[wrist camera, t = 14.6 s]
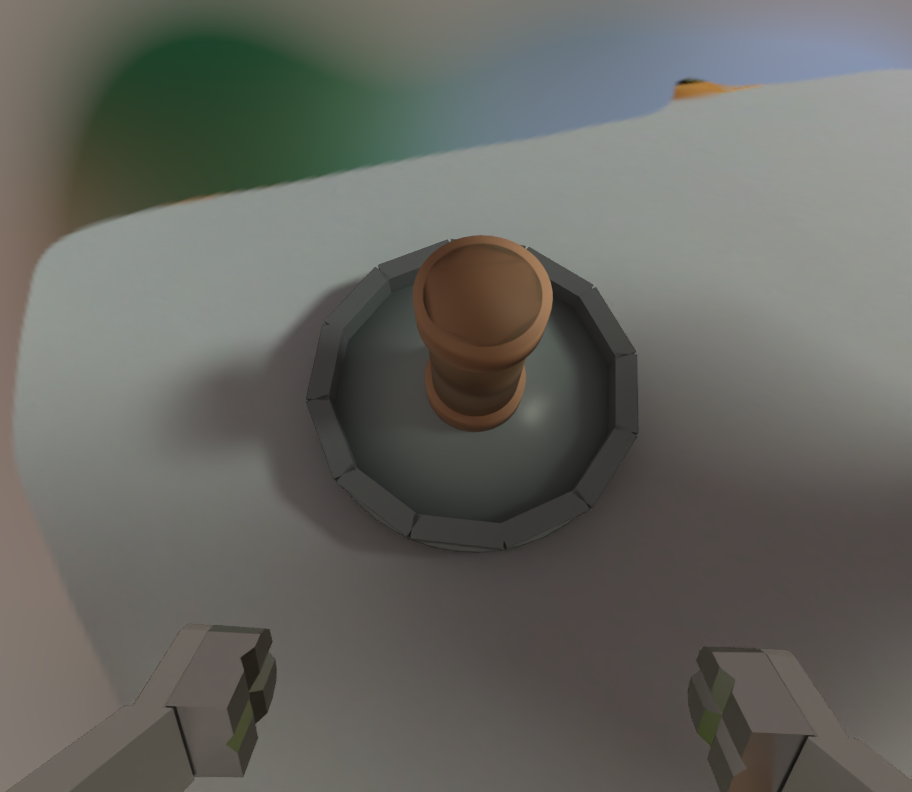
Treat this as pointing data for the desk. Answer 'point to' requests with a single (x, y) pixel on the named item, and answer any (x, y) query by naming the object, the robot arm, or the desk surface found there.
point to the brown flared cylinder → (479, 327)
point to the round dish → (472, 453)
